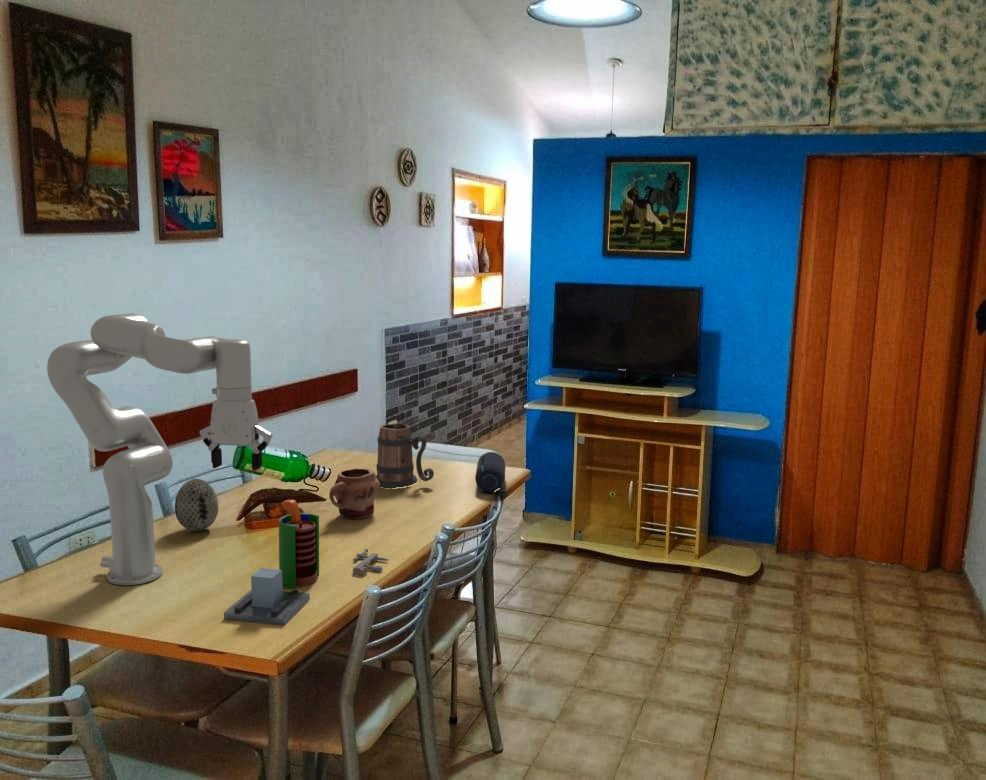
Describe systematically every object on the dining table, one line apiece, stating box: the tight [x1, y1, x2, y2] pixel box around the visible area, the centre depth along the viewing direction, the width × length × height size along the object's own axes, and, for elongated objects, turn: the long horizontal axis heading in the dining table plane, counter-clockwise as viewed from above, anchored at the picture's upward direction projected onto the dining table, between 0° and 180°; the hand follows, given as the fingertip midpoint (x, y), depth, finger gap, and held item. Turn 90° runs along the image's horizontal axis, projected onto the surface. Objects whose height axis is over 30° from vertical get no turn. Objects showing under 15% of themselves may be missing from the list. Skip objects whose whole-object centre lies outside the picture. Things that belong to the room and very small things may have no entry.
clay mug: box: [328, 468, 381, 520], centre depth 257 cm, size 20×12×14 cm, turn 152°
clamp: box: [352, 548, 389, 577], centre depth 219 cm, size 15×2×10 cm
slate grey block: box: [250, 567, 284, 608], centre depth 192 cm, size 5×7×7 cm
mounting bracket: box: [223, 588, 311, 626], centre depth 191 cm, size 14×14×2 cm
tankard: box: [375, 423, 435, 489], centre depth 294 cm, size 24×17×20 cm
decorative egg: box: [174, 478, 219, 532], centre depth 243 cm, size 12×12×15 cm
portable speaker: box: [474, 451, 506, 493], centre depth 294 cm, size 25×10×10 cm, turn 179°
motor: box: [278, 499, 320, 590], centre depth 207 cm, size 10×9×20 cm
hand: (236, 467), depth 195 cm, fingers open, 9 cm apart
